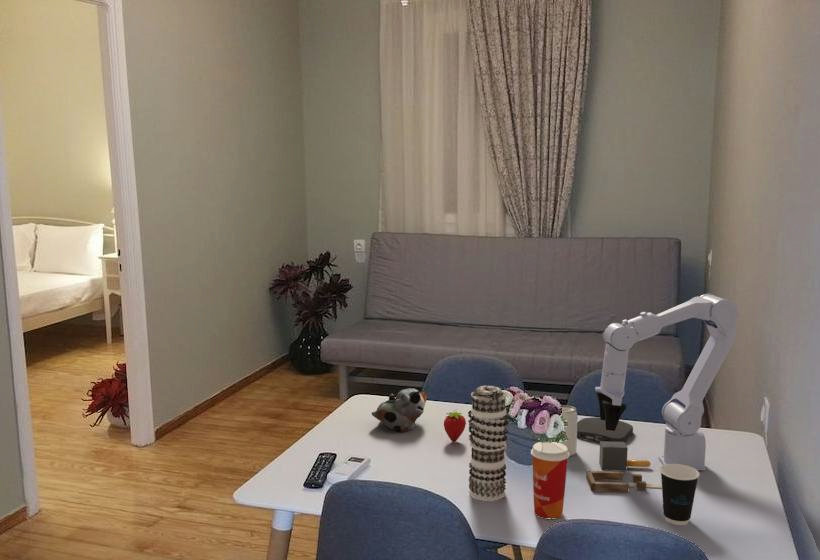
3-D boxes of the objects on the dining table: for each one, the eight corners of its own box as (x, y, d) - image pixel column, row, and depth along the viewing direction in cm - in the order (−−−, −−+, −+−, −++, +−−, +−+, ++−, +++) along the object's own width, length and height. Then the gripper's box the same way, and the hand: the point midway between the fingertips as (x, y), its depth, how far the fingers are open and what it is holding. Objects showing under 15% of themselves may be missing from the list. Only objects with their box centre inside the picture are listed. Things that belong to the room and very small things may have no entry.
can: (576, 457, 191) (578, 413, 189) (551, 455, 192) (552, 411, 190) (576, 448, 197) (577, 405, 195) (551, 446, 198) (552, 404, 197)
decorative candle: (496, 505, 163) (499, 397, 160) (460, 496, 168) (461, 390, 164) (513, 490, 171) (516, 386, 167) (478, 481, 176) (479, 380, 172)
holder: (656, 480, 177) (656, 472, 177) (664, 493, 170) (665, 485, 169) (586, 477, 178) (586, 470, 178) (591, 490, 171) (591, 483, 171)
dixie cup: (676, 531, 151) (679, 481, 150) (649, 515, 159) (651, 467, 157) (704, 524, 155) (708, 474, 153) (677, 508, 162) (679, 461, 160)
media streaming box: (636, 432, 211) (636, 422, 210) (621, 448, 198) (621, 437, 198) (586, 423, 218) (587, 413, 218) (569, 437, 206) (569, 427, 206)
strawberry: (469, 439, 204) (469, 404, 202) (460, 448, 197) (460, 412, 196) (449, 436, 206) (449, 401, 205) (439, 445, 199) (439, 409, 198)
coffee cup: (525, 505, 163) (526, 440, 161) (561, 503, 164) (563, 439, 162) (534, 523, 155) (536, 455, 153) (572, 521, 156) (575, 454, 154)
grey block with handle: (648, 465, 186) (649, 442, 185) (652, 471, 182) (653, 448, 181) (599, 463, 187) (600, 441, 186) (602, 470, 183) (602, 447, 182)
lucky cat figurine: (388, 415, 224) (410, 376, 223) (417, 437, 218) (440, 397, 217) (363, 415, 211) (387, 373, 209) (394, 438, 205) (418, 396, 204)
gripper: (592, 363, 189) (586, 414, 191) (603, 378, 175) (596, 432, 176) (620, 366, 188) (614, 416, 190) (633, 381, 174) (626, 436, 176)
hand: (607, 424), depth 183 cm, fingers open, 7 cm apart
